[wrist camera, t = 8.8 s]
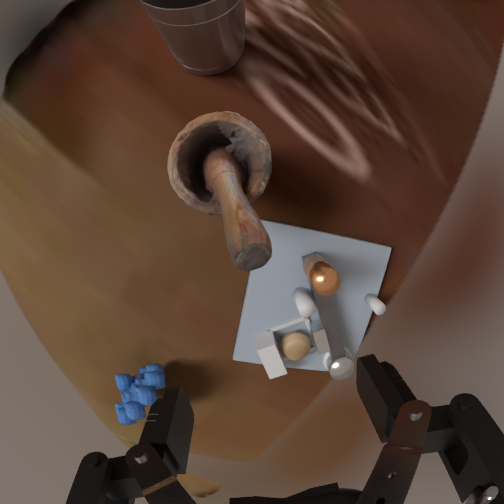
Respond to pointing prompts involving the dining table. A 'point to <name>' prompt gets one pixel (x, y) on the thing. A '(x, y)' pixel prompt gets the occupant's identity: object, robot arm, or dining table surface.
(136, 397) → the blue lumpy cluster
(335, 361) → the lever
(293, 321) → the nutcracker base
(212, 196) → the mortar and pestle
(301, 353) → the hazelnut
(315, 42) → the dining table surface
